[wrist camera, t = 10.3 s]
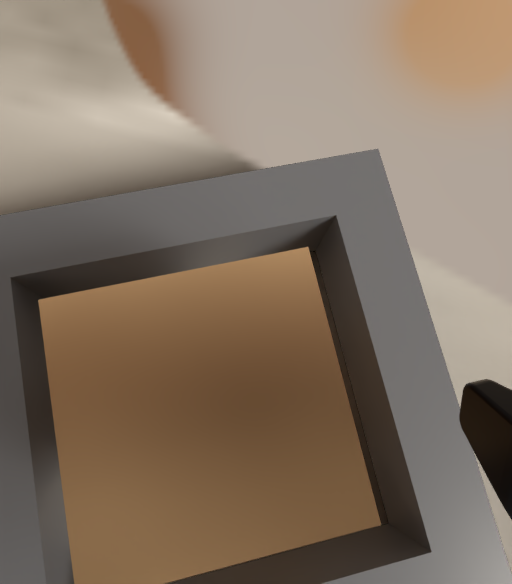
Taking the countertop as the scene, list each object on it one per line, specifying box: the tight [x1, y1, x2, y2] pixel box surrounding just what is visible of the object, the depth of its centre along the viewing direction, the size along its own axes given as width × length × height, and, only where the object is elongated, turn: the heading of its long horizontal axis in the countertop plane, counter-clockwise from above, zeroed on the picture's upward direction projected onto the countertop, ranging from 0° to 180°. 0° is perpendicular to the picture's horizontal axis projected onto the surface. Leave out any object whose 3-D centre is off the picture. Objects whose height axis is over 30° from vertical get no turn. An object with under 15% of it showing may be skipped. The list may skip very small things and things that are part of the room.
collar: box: [0, 149, 512, 584], centre depth 15 cm, size 14×14×4 cm
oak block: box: [38, 247, 381, 584], centre depth 13 cm, size 5×5×9 cm
